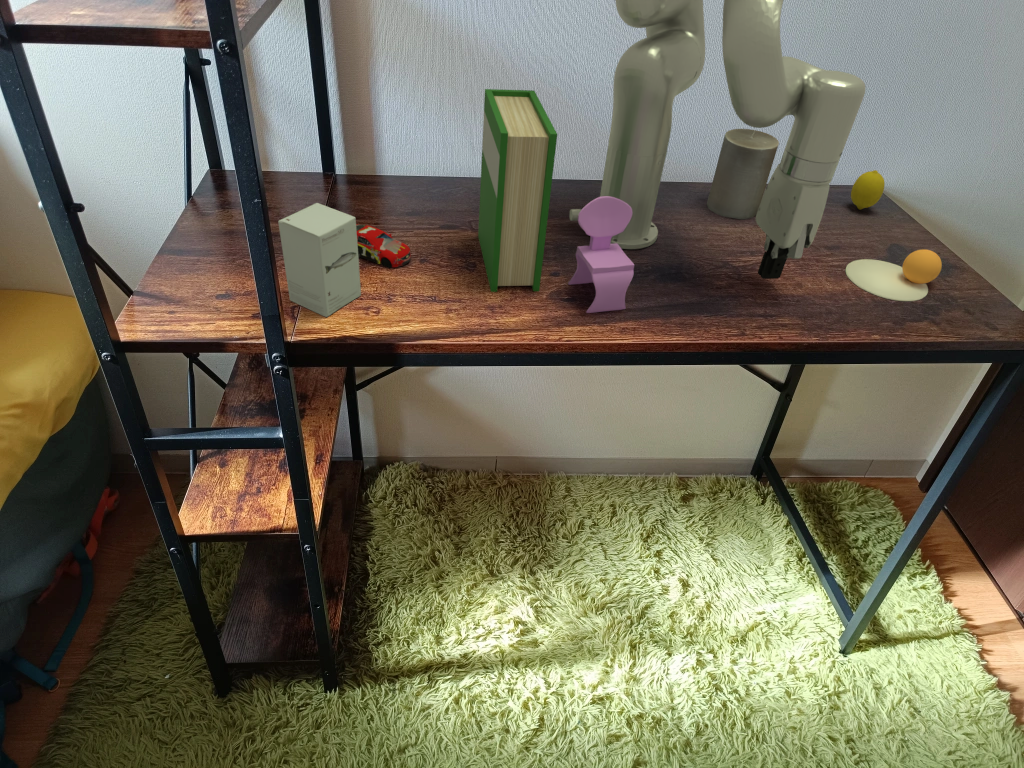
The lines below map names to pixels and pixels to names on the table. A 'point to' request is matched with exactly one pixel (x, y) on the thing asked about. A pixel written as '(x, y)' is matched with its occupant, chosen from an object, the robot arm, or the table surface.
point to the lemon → (867, 189)
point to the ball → (922, 266)
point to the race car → (381, 247)
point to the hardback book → (515, 186)
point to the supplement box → (321, 258)
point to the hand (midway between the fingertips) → (768, 275)
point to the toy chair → (604, 253)
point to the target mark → (884, 280)
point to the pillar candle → (742, 173)
